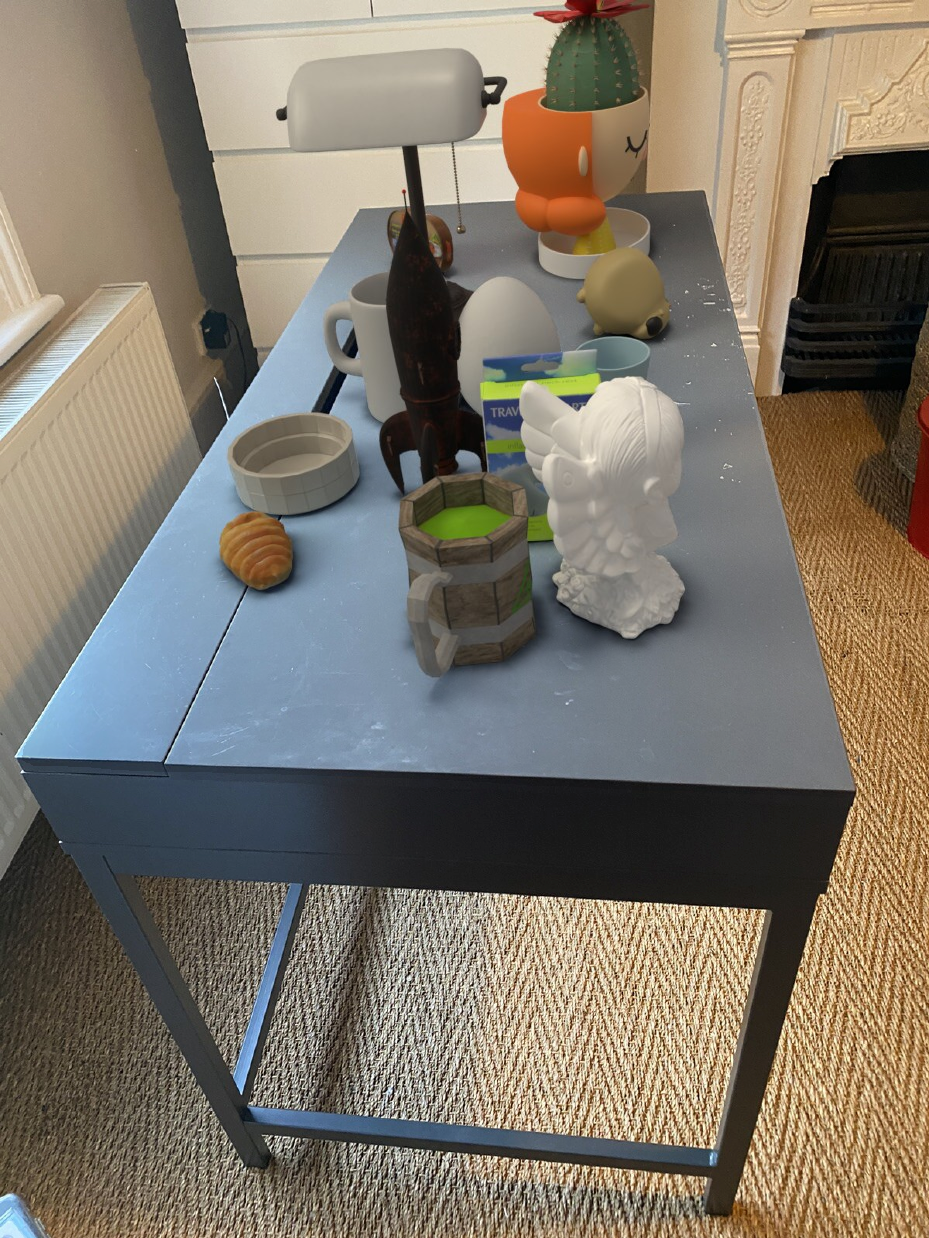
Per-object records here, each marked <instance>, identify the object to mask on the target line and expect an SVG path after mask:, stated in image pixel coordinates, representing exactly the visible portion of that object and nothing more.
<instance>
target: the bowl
mask: <svg viewBox="0 0 929 1238" xmlns="http://www.w3.org/2000/svg"><path fill="white" fill-rule="evenodd" d="M357 453H358V452H357V448H356V443H355V439H354V432H353V429H352V427H351V426H350V425H349V424H348V423H347V422H346V420H344V419H342V418H340V417H337V416H335V415H333V414H329V413H323V412H295V413H288V414H281V415H278V416H274V417H271V418H268V419H265V420H262V421H259V422H258V423H256V424H254V425H252V426H250V427H248V428H246V429H245V430H244V431H242V432H241V433H239V434H238V435H237V436H236V437H234V439H233V440H232V442H231V444H229V446H228V447H227V455H226V460H227V464H228V467H229V471H230V474H231V476H232V480H233V483H234V486H235V490H236V493H237V495H238V498H239V499H240V500H241V502H242V504H243V505H245V506H246V507H249V509H251V510H253V511H259V512H263V513H265V514H268V515H276V516H277V515H278V516H292V515H293V516H294V515H299V514H304V513H310V512H313V511H317V510H320V509H323V508H325V507H328V506H330V505H331V504H333V503H335V502H336V501H339V500H340V499H342V497H344V496H346V495H347V494H348V492H350V491H351V490H352V489H353V488H354V487H355V486H356V484H357V483H358V479H359V478H360V475H361V471H360V462H359V458H358V454H357Z"/></svg>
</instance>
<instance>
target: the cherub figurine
mask: <svg viewBox="0 0 929 1238" xmlns="http://www.w3.org/2000/svg"><path fill="white" fill-rule="evenodd" d="M595 392H596V393H595V394H594V395H593V396H592V397H591V398H590V399H589V401H588V402H587V404H586V406H582V407H581V408H580V410H579V411H578V412H577V411H576V410H574V409H573V408H572V407H570V406H569V405H568V404H566V403H565V402H563V401H562V400H561V399H559V398H558V397H557V396H555V395H554V394H552V393H551V392H550V391H548V390H547V389H545V388H544V387H543V386H541V385H540V384H538V383H536V382H533V381H527V382H526V383H525V384H524V385H523V387H522V389H521V394H520V400H519V409H520V413H521V416H522V418H523V419H524V421H523V423H522V426H521V438H522V441H523V444H524V446H525V447H526V450H525V456H526V459H527V462H528V464H529V465H530V466H531V467H532V471H533V473H534V475H535V476H536V478H537V479H538V480H539V481H541V482H542V483H543V486H544V488H545V490H546V492H547V494H548V495H549V497H550V499H549V502H548V508H547V518H548V522H549V526H550V528H551V529H552V531H553V532H554V540H553V544H554V547H555V549H556V551H557V552H558V553H559V554H560V555H561V556H562V557H563V558H562V559H561V563H560V567H559V568H560V569H559V570H560V571H559V572H556V573H554V574H553V575H552V578H551V579H552V582H553V583H554V584H555V586H557V588H558V589H557V594H556V600H557V601H558V602H559V603H562V604H563V605H565V607H567V608H568V609H570V612H571V613H573V614H574V615H576V616H579V618H582V619H584V620H587V621H588V622H591V623H593V624H597V625H600V626H602V627H604V628H606V629H608V630H611V631H614V632H616V633H618V634H620V635H621V636H622V638H624V639H631V640H632V639H636V638H637V637H638V636H639V635H640V634H642V633H643V632H644V631H645V630H648V629H651V628H654V627H655V626H656V625H659V624H663V625H668V624H670V623H671V622H672V621H673V619H674V616H675V613H676V612H677V611H678V610H679V606H680V602H681V598H682V596H683V595H684V593H685V590H686V588H685V585H684V582H683V580H681V578H680V575H679V573H678V572H677V571H676V570H675V569H674V567H672V564H671V562H670V561H668V558H666V557H665V556H664V555H662V554H661V555H660V554H657V552H656V551H654V550H657V549H660V548H662V547H666V546H667V545H671V544H672V543H674V542H676V541H677V539H678V537H679V531H678V528H677V524H676V523H675V521H674V515H673V513H672V510H671V508H670V506H669V496H671V495H673V494H674V493H675V492H676V491H677V490H678V489H679V486H680V484H681V480H682V471H683V459H682V451H683V449H684V443H685V427H684V422H683V419H682V415H681V413H680V410H679V407H678V406H677V404H676V403H675V401H674V400H673V399H672V398H671V397H670V396H668V395H666V394H665V393H664V392H663V391H661V390H659V389H658V386H656V384H654V383H651V382H649V381H648V380H647V379H646V380H644V379H643V378H642V377H629V376H627V377H625V378H614V379H613V380H611V381H610V382H609V381H605V382H602V383H600V384H599V385H598V386H597V387H596V389H595Z"/></svg>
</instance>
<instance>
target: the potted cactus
mask: <svg viewBox="0 0 929 1238" xmlns="http://www.w3.org/2000/svg"><path fill="white" fill-rule="evenodd" d="M636 1H637V0H621V1H617V0H566V1H565V3H564V8H565V9H566V10H539V11H535V12H533V13H532V15H533V16H535V17H539V18H543V20H544V21H548V22H550V23H552V24H554V25H555V24H556V25H557V24H558V25H557V27H558V30H557V31H556V30H554V34H553V36H551V37H552V39H554V38H555V39H554V43H553V46H552V45H549V47H548V46H547V47H546V46H545V47H546V49H548V50H546V51H548V52H550V54H548V53H545V56H544V59H545V61H546V62H547V65H546V66H547V67H546V66H545V65H541V69H540V71H541V72H543V76H545V78H544V77H542V78H541V80H539V81H540V82H539V83H540V84H542V85H543V87H540V88H536V89H532V90H528V91H524V92H521V93H518V94H515V95H513V96H510V97H509V98H508V99H506V100H505V101H504V103H503V110H502V116H501V117H502V118H501V142H502V147H503V149H502V150H503V155H504V159H505V162H506V166H507V168H508V170H509V172H510V174H511V175H512V178H513V179H514V182H515V183H516V185H517V187H518V190H517V191H516V193H515V197H514V205H515V210H516V214H517V216H518V218H519V219H520V221H521V222H522V223H523V224H524V225H525V226H527V228H529V229H530V230H532V231H536V232H538V235H537V244H538V261H539V264H540V266H541V268H543V270H545V271H546V272H548V273H550V274H552V275H555V276H557V277H560V278H566V279H572V280H573V279H574V280H585V277H586V274H587V272H588V270H589V268H590V267H591V266H592V264H593V263H594V262H595V261H596V260H597V259H598V258H599V257H601V256H602V255H604V254H605V253H607V252H609V251H611V250H614V249H617V248H621V247H632V248H636V249H639V250H641V251H642V252H644V253H645V254H646V255H647V256H648V257H649V254H650V249H651V224H650V220H648V218H647V217H646V216H645V215H643V214H641V213H639V212H637V211H634V210H631V209H626V208H621V207H609V206H608V207H606V204H605V203H606V202H608V201H609V200H611V199H613V198H615V197H616V196H618V195H619V194H620V193H621V192H623V190H624V189H625V188H626V187H627V186H628V185H629V184H630V182H632V180H634V178H635V174H636V172H637V171H638V169H639V167H640V165H641V162H643V161H645V159H646V158H647V155H648V150H649V149H648V139H649V133H650V132H649V131H650V126H651V123H650V118H651V117H650V99H649V92H648V89H646V87H645V86H646V84H643V85H642V82H641V81H643V79H642V78H639V76H643V75H646V73H644V72H643V70H642V69H640V68H642V65H643V63H641V62H642V59H641V58H639V59H638V57H640V56H641V55H640V54H642V53H641V52H639V53H638V51H639V50H641V48H639V49H638V48H637V49H636V47H637V44H634V45H633V46H632V43H633V42H634V41H637V39H638V38H636V39H634V36H633V35H632V34H633V32H630V31H631V30H632V29H631V28H630V25H628V24H624V26H623V27H622V26H621V25H622V24H623V23H624V22H625V20H624V19H623V18H622V17H620V16H622V15H625V14H628V13H632V12H636V11H639V10H642V9H644V10H645V9H648V8H650V7H651V6H652V5H651V4H649V3H647V4H646V3H643V4H634V5H633V4H632V2H636ZM617 17H618V19H617V20H616V18H617ZM563 24H564V25H563ZM556 32H557V33H558V34H559V35H558V34H557V33H556ZM629 32H630V34H629V35H628V36H627V33H629ZM635 49H636V50H635ZM634 50H635V51H634ZM636 54H638V55H637V57H636ZM638 65H639V66H638ZM639 83H640V84H639Z"/></svg>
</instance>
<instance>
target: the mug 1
mask: <svg viewBox="0 0 929 1238" xmlns="http://www.w3.org/2000/svg"><path fill="white" fill-rule="evenodd" d="M389 273H390V269H388V270H385V271H380V272H376V273H374V274H371V275H368V276H366V277H364V278H362V279H359V281H357V282H355V283H354V284H353V285H352V286H351V288H350V290H349V292H348V299H349V300H341V301H337V302H334V303H333V304H330V305H329V306H328V307H327V309H326V311H325V313H324V316H323V337H324V338H323V339H324V342H325V346H326V347H325V348H326V350H327V353H328V356H329V358H330V360H331V361H332V364H333V365H334V366H335V368H337V370H338V371H340V372H341V373H343V374H345V375H350V376H354V377H361V378H363V384H364V389H365V395H366V402H367V407H368V411H369V413H370V415H371V416H372V417H373V418H374V419H376V420H377V421H379V422H380V423H382V424H383V423H384V422H385V421H386V420H387V419H388V418H389V417H391V416H392V415H394V414H396V413H399V412H402V411H405V410H407V409H406V405H405V401H404V400H403V399H402V398H401V395H399V394H400V388H401V385H400V380H399V376H398V372H397V367H396V363H395V358H394V353H393V348H392V344H391V339H390V334H389V327H388V320H387V313H386V300H385V299H386V293H387V286H388V278H389ZM445 281H447V280H446V278H445ZM446 283H447V282H446ZM340 320H345V321H350V322H352V325H353V329H354V334H355V339H356V344H357V349H358V355H359V357H358V358H352V357H350V356H348V355H346V353H344V351H343V350H342V348H341V346H340V342H339V340H338V336H337V323H338V321H340ZM458 399H459V403H460V402H461V391H460V392H459V394H458Z"/></svg>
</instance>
